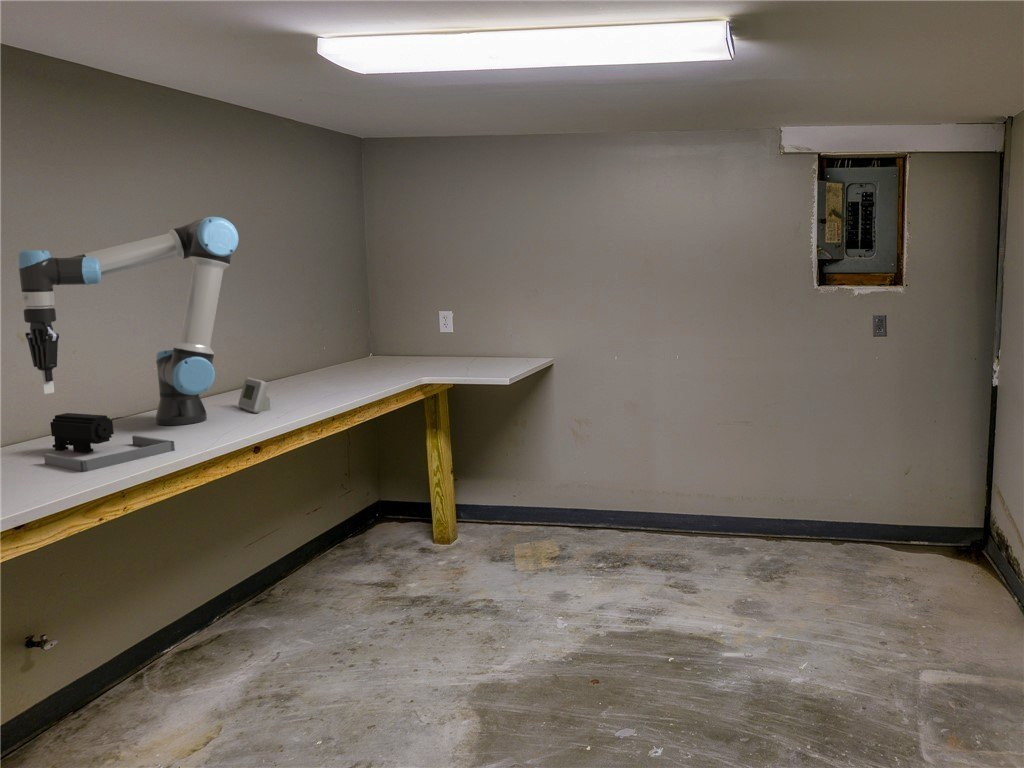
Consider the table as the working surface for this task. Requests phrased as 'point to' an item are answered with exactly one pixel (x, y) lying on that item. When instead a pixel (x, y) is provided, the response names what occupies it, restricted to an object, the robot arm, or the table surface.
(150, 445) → the grey u-shaped frame
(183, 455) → the table surface
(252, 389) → the digital clock
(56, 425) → the security camera
